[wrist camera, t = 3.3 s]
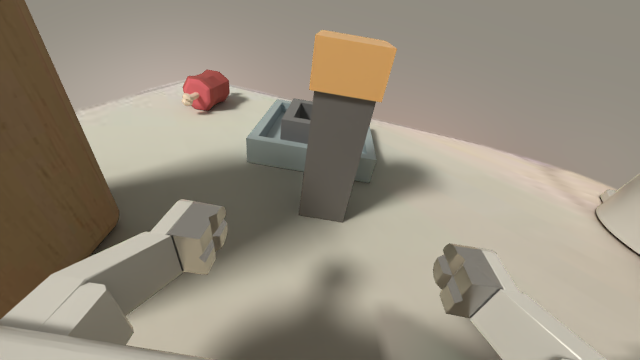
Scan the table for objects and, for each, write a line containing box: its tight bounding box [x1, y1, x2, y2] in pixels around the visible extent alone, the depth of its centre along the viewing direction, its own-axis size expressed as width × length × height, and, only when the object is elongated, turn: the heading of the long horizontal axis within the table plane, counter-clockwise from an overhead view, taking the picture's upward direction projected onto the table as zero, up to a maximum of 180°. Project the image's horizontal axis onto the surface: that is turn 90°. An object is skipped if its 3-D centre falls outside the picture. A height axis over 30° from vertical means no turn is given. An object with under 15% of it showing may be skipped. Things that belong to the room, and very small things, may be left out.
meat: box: [182, 70, 229, 111], centre depth 38 cm, size 12×5×5 cm, turn 172°
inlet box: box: [246, 99, 377, 183], centre depth 32 cm, size 14×14×4 cm
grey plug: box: [299, 30, 397, 222], centre depth 19 cm, size 5×5×14 cm
